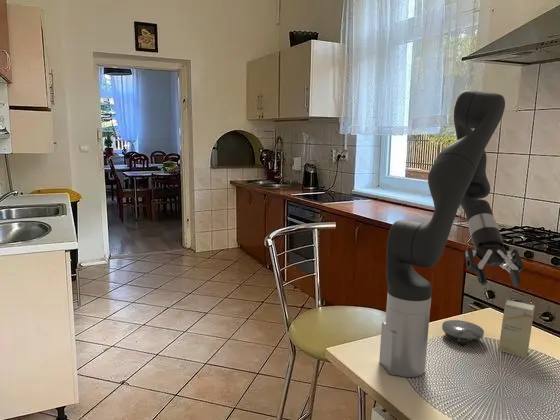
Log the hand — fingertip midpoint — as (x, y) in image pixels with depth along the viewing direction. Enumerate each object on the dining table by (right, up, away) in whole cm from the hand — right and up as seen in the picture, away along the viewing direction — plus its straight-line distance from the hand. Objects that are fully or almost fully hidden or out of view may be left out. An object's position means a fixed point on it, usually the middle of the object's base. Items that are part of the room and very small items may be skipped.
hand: (500, 284), depth 114 cm
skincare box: (0, -15, -7) cm, 17 cm away
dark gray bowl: (-11, -14, -1) cm, 18 cm away
